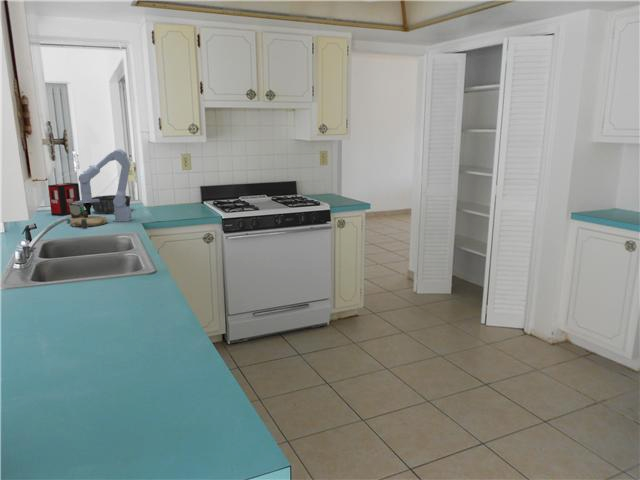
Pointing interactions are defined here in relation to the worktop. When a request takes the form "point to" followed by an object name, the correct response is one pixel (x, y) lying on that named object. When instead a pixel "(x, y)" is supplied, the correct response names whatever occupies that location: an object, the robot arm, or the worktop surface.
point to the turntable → (88, 220)
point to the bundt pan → (107, 203)
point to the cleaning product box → (63, 197)
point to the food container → (76, 210)
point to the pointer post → (84, 223)
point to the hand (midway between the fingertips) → (88, 214)
